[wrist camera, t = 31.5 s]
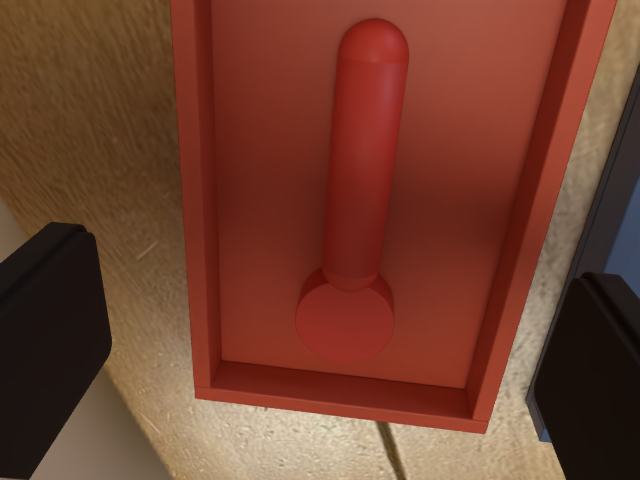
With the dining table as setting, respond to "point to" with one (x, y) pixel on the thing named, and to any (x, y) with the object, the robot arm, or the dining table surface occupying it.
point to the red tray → (405, 197)
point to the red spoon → (357, 199)
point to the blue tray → (609, 225)
